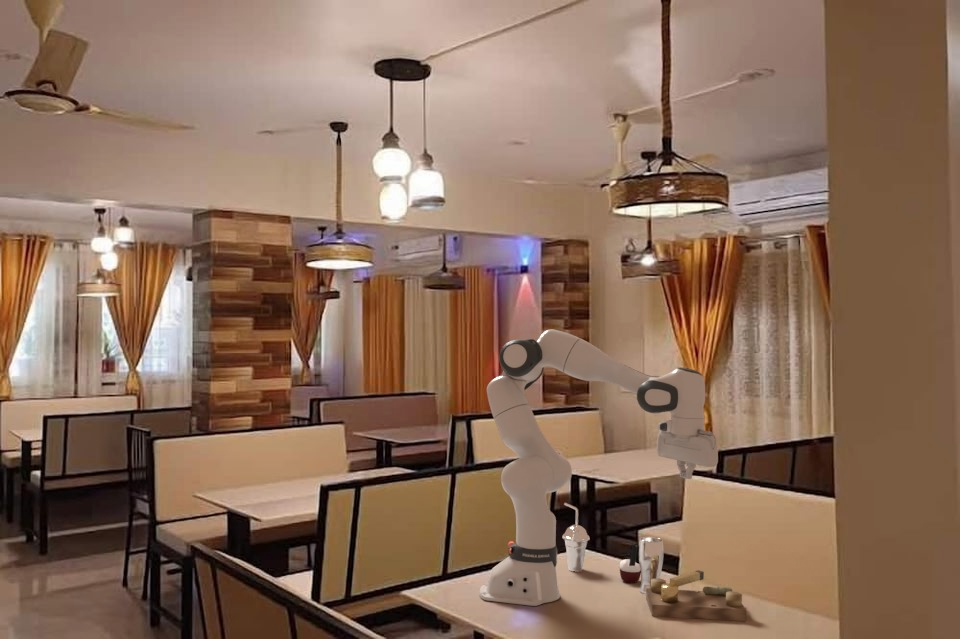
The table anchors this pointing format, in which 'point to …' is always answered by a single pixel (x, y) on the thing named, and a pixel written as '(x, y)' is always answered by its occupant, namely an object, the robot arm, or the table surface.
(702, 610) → the levelling base
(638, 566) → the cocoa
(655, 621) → the table surface
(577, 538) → the cup with straw
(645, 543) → the beer glass
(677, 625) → the table surface
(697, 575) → the lever handle
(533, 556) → the robot arm
